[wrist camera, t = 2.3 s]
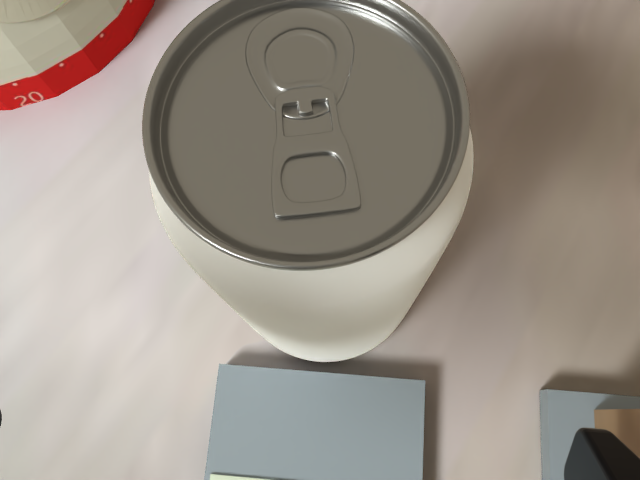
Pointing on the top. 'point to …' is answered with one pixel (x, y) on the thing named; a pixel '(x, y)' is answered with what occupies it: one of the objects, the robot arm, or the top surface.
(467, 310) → the top surface
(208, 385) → the top surface
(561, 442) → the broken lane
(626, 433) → the walnut cube
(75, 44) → the kitchen timer
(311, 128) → the can
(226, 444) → the plate
